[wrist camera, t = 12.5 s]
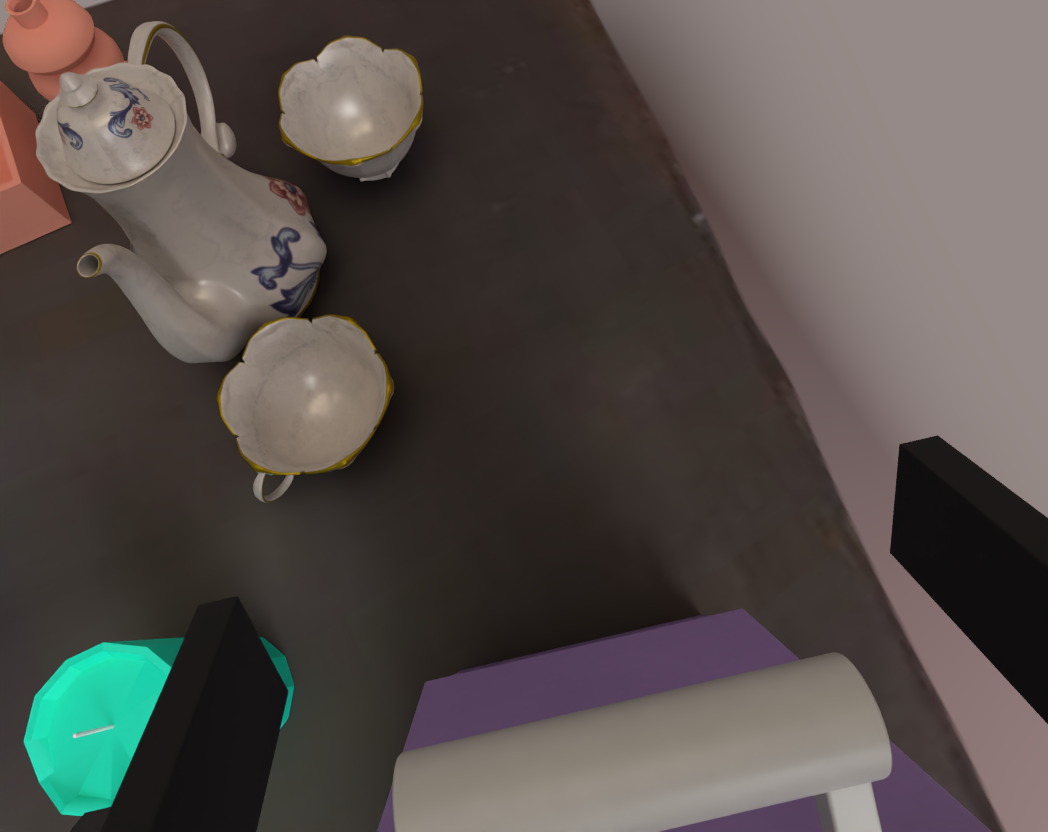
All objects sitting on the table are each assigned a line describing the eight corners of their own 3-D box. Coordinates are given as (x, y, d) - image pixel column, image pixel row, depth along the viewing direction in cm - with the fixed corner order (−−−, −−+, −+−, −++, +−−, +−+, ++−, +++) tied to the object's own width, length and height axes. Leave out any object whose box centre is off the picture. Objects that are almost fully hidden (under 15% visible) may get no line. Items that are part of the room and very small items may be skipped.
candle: (178, 642, 36) (-6, 657, 24) (291, 624, 35) (161, 630, 24) (179, 768, 34) (-18, 848, 22) (298, 749, 34) (161, 820, 22)
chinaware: (432, 508, 38) (391, 432, 22) (127, 516, 37) (-141, 443, 21) (433, 98, 46) (403, -174, 30) (182, 96, 45) (14, -185, 29)
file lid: (1203, 1054, 9) (1119, 652, 9) (254, 1281, 9) (157, 875, 9) (746, 622, 26) (716, 486, 26) (428, 696, 26) (396, 560, 26)
